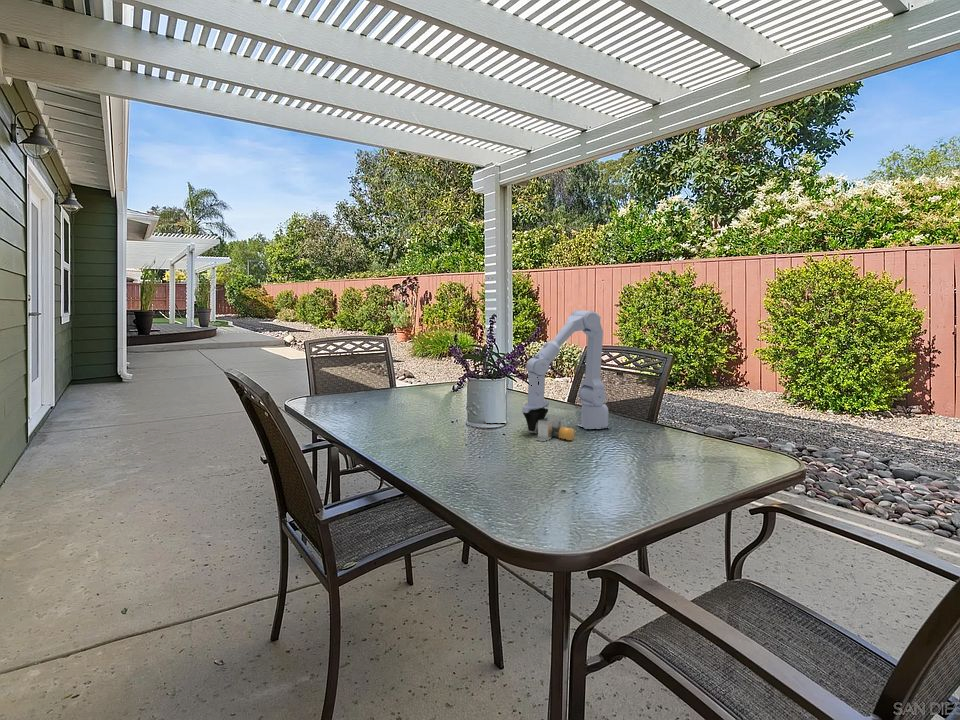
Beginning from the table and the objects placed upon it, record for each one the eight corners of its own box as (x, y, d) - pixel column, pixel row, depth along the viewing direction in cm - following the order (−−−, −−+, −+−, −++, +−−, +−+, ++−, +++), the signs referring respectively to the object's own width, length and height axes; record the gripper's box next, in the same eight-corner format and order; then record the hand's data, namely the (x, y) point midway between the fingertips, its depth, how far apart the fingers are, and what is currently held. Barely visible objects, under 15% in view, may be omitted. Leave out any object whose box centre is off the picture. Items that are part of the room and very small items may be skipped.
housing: (533, 440, 187) (534, 421, 186) (557, 431, 199) (557, 414, 199) (544, 442, 185) (544, 423, 184) (566, 433, 197) (567, 415, 196)
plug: (527, 433, 195) (527, 422, 195) (533, 431, 199) (534, 419, 198) (568, 442, 185) (569, 429, 185) (574, 439, 189) (575, 427, 188)
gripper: (537, 387, 202) (536, 424, 204) (515, 393, 191) (514, 431, 192) (554, 390, 198) (552, 427, 200) (532, 395, 187) (531, 434, 188)
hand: (535, 429), depth 196 cm, fingers closed on plug, 4 cm apart
